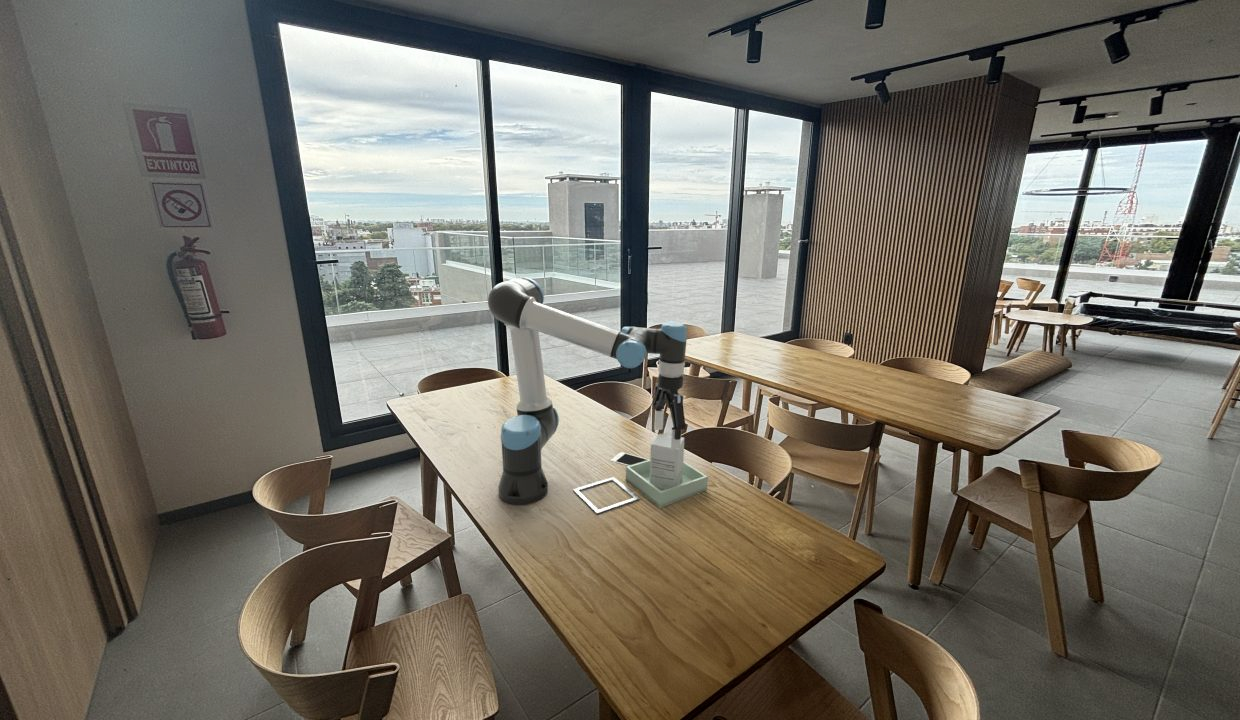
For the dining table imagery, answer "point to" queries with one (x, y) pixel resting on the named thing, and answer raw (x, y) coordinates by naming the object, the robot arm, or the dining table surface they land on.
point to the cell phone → (627, 459)
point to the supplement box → (666, 462)
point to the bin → (688, 487)
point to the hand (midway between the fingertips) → (666, 438)
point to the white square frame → (633, 499)
